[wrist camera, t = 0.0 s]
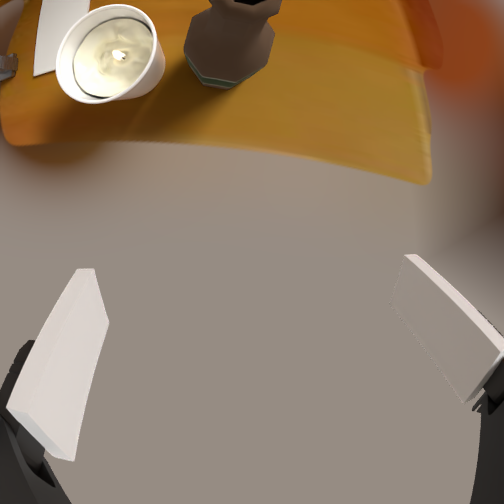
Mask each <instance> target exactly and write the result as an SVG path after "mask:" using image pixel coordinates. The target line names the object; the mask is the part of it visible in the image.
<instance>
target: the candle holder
mask: <svg viewBox="0 0 504 504" xmlns="http://www.w3.org/2000/svg"><path fill="white" fill-rule="evenodd" d="M55 69H56V76H57V79H58V82H59V84H60V86H61V88H62V89H63V90H64V92H65V93H66V94H67V95H68V96H70V97H71V98H73V99H75V100H77V101H79V102H82V103H88V104H99V103H105V102H109V101H116V100H126V99H133V98H137V97H140V96H143V95H145V94H147V93H148V92H150V91H151V90H152V89H153V88H154V87H155V86H156V85H157V84H158V83H159V81H160V80H161V78H162V76H163V74H164V70H165V55H164V52H163V49H162V47H161V44H160V42H159V40H158V37H157V35H156V31H155V28H154V25H153V23H152V21H151V20H150V18H149V17H148V16H147V15H146V14H145V13H144V12H142V11H141V10H139V9H137V8H135V7H132V6H129V5H123V4H114V5H107V6H103V7H100V8H97V9H95V10H93V11H91V12H89V13H87V14H86V15H84V16H83V17H81V18H80V19H79V20H78V21H77V22H76V23H75V24H74V25H73V26H72V27H71V28H70V29H69V30H68V32H67V33H66V35H65V36H64V38H63V40H62V41H61V44H60V46H59V48H58V52H57V56H56V63H55Z"/></svg>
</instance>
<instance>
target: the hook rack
mask: <svg viewBox="0 0 504 504" xmlns="http://www.w3.org/2000/svg"><path fill="white" fill-rule="evenodd" d="M16 56H17V54H14V53H13V54H10V55H8V56H0V82H2V81H4V80H6V79H9V78H11V77H14V76H15V71H17V67H18V58H16Z"/></svg>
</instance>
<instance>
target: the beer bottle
mask: <svg viewBox="0 0 504 504" xmlns="http://www.w3.org/2000/svg"><path fill="white" fill-rule="evenodd" d="M209 2H210V3H211V4H212V7H211V8H209V9H207V10H205V11H203V12H201V13H199V14H197V15H196V16H194V17H192V20H191V23H190V27H189V30H188V33H187V37H186V40H185V44H184V54H185V56H186V59H187V61H188V64H189V66H190V68H191V69H192V70H193V72H194V73H195V75H196V76H197V77H198V79H199V80H200V82H201V83H202V84H203V86H208V87H214V88H220V89H225V90H229V89H230V88H232V87H234V86H235V85H237V84H239V83H241V82H242V81H244V80H246V79H248V78H249V77H251V76H252V75H254V74H255V73H256V72H258V71H259V70H260V69H262V68H263V67H264V66H265V65H266V64H267V62H268V58H269V54H270V51H271V47H272V43H273V39H274V36H275V33H274V31H273V29H272V28H271V26H270V25H269V24H268V22H267V19H268V18H269V17H271V16H273V15H276V14H278V12H279V9H280V5H281V2H282V0H209Z"/></svg>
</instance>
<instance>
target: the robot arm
mask: <svg viewBox="0 0 504 504" xmlns="http://www.w3.org/2000/svg"><path fill="white" fill-rule="evenodd" d="M389 304H390V305H391V307H392V308H393V309H394V310H395V312H396V313H397V314H398V316H399V317H400V318H401V319H402V321H403V322H404V323H405V325H406V326H407V327H408V328H409V330H410V331H411V332H412V334H413V335H414V336H415V338H416V339H417V340H418V342H419V343H420V344H421V346H422V347H423V348H424V350H425V351H426V352H427V354H428V355H429V356H430V358H431V359H432V360H433V362H434V363H435V365H436V366H437V367H438V369H439V370H440V371H441V373H442V374H443V376H444V377H445V379H446V380H447V382H448V383H449V384H450V386H451V387H452V389H453V390H454V392H455V393H456V395H457V396H458V398H459V399H460V401H461V402H462V403H463V404H464V403H466V402H468V401H470V400H471V399H473V398H475V396H476V395H477V394H478V393H479V391H480V390H481V389H482V388H484V390H485V392H484V394H483V395H482V396H481V397H480V399H479V400H478V401H477V402H476V404H475V405H474V406H473V408H472V411H474V410H475V409H476V408H477V407H478V406H479V405H480V404H481V406H480V408H479V409H478V410H477V412H479V413H481V430H480V443H479V453H478V462H477V468H476V475H475V481H474V486H473V492H472V496H471V501H470V504H504V337H503V336H502V335H501V333H500V332H499V331H498V330H497V329H496V328H495V327H494V326H492V324H491V323H490V322H489V321H488V320H486V318H485V317H484V316H483V315H482V313H480V311H478V310H477V309H475V308H474V307H473V306H472V305H471V304H470V303H469V302H468V301H467V300H466V299H465V298H464V297H463V296H462V295H461V294H460V293H459V292H458V291H457V290H456V289H455V288H453V286H452V285H450V284H449V283H448V282H447V281H446V280H445V279H444V278H443V277H442V276H441V275H439V274H438V273H437V272H436V271H435V270H434V269H433V268H432V267H431V266H429V265H428V264H427V263H426V262H425V261H424V260H423V259H421V258H420V257H419V256H418V255H416V254H412V255H404V258H403V262H402V266H401V269H400V272H399V275H398V279H397V282H396V285H395V288H394V291H393V294H392V297H391V300H390V303H389ZM108 326H109V321H108V317H107V314H106V311H105V308H104V304H103V301H102V297H101V294H100V290H99V287H98V283H97V279H96V275H95V271H94V269H77V270H76V272H75V273H74V275H73V276H72V278H71V280H70V281H69V283H68V284H67V286H66V288H65V289H64V291H63V293H62V294H61V296H60V298H59V299H58V301H57V303H56V304H55V306H54V308H53V310H52V312H51V313H50V315H49V317H48V318H47V320H46V322H45V324H44V326H43V328H42V329H41V331H40V333H39V335H38V337H37V339H36V341H34V340H29V341H28V342H27V343H26V344H25V345H24V346H23V347H22V348H21V349H20V350H19V352H18V354H17V355H16V358H15V359H14V364H12V366H11V368H10V370H9V373H8V374H7V376H6V378H5V381H4V383H3V385H2V388H1V390H0V504H71V502H70V500H69V499H68V497H67V496H66V494H65V492H64V491H63V489H62V487H61V486H60V484H59V482H58V480H57V479H56V477H55V475H54V473H53V471H52V469H51V468H50V466H49V464H48V462H47V461H46V459H45V458H44V457H43V455H44V451H45V449H46V450H47V451H48V452H49V453H50V454H51V455H52V456H53V457H56V458H60V459H65V460H69V461H74V460H75V454H76V448H77V443H78V438H79V433H80V428H81V424H82V419H83V414H84V410H85V406H86V402H87V397H88V394H89V390H90V386H91V382H92V379H93V375H94V371H95V368H96V364H97V361H98V357H99V354H100V351H101V348H102V344H103V341H104V338H105V335H106V332H107V329H108Z"/></svg>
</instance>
